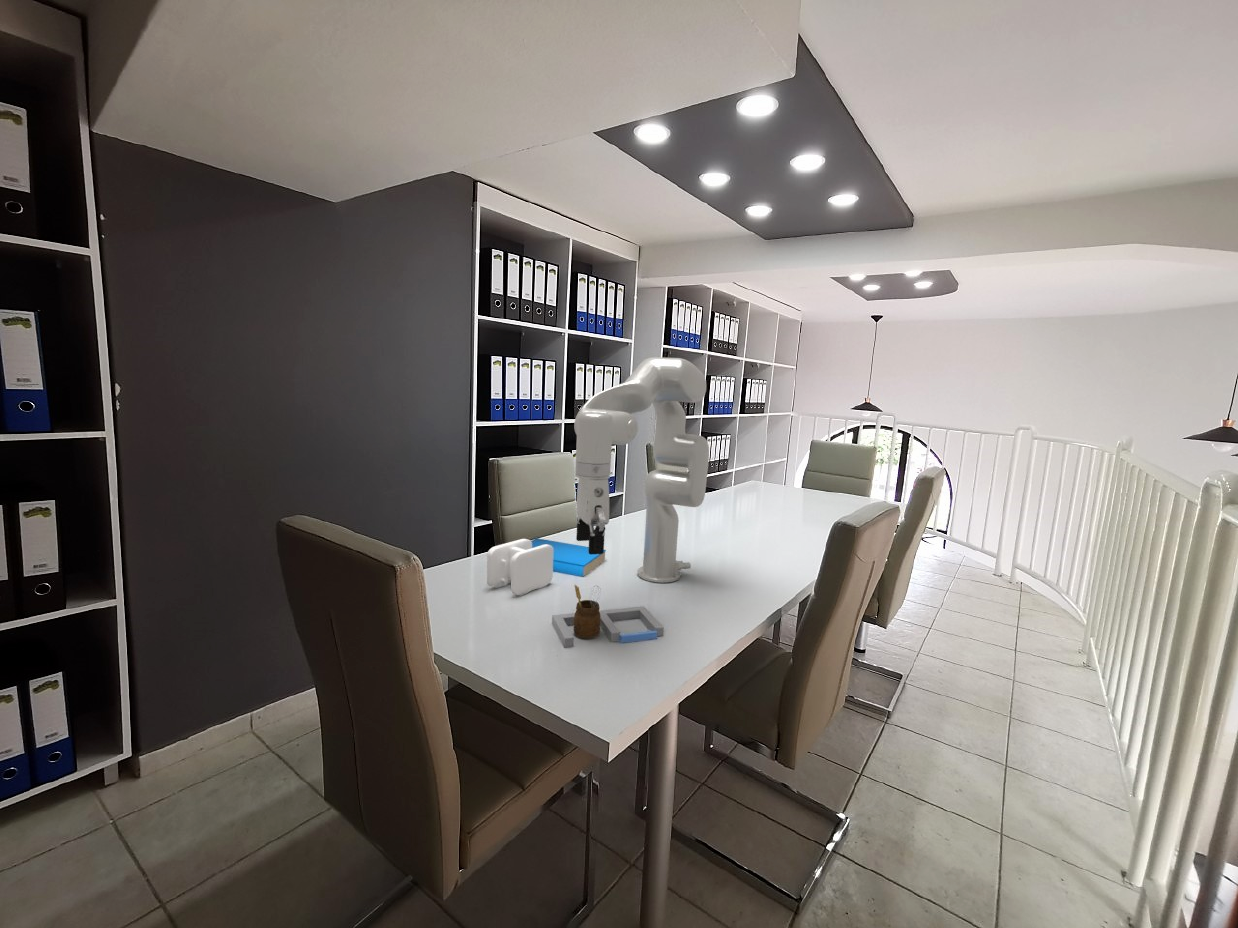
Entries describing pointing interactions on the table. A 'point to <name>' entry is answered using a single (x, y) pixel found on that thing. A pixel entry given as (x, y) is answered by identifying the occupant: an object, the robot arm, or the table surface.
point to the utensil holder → (586, 617)
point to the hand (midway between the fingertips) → (589, 546)
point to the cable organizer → (520, 566)
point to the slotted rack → (611, 625)
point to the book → (571, 557)
